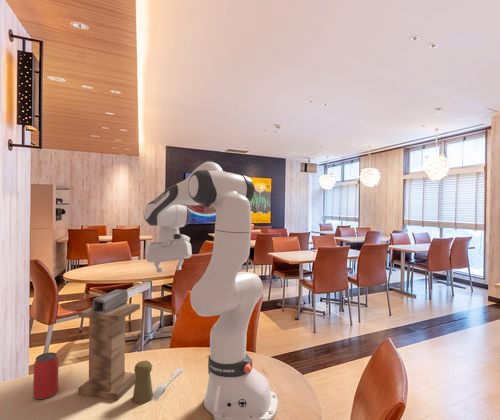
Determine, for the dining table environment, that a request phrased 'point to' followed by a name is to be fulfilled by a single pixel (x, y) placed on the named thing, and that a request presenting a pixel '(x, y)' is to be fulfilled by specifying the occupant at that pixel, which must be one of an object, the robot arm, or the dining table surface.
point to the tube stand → (108, 346)
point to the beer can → (45, 375)
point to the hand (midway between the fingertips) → (168, 271)
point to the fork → (165, 384)
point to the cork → (143, 383)
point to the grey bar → (139, 288)
